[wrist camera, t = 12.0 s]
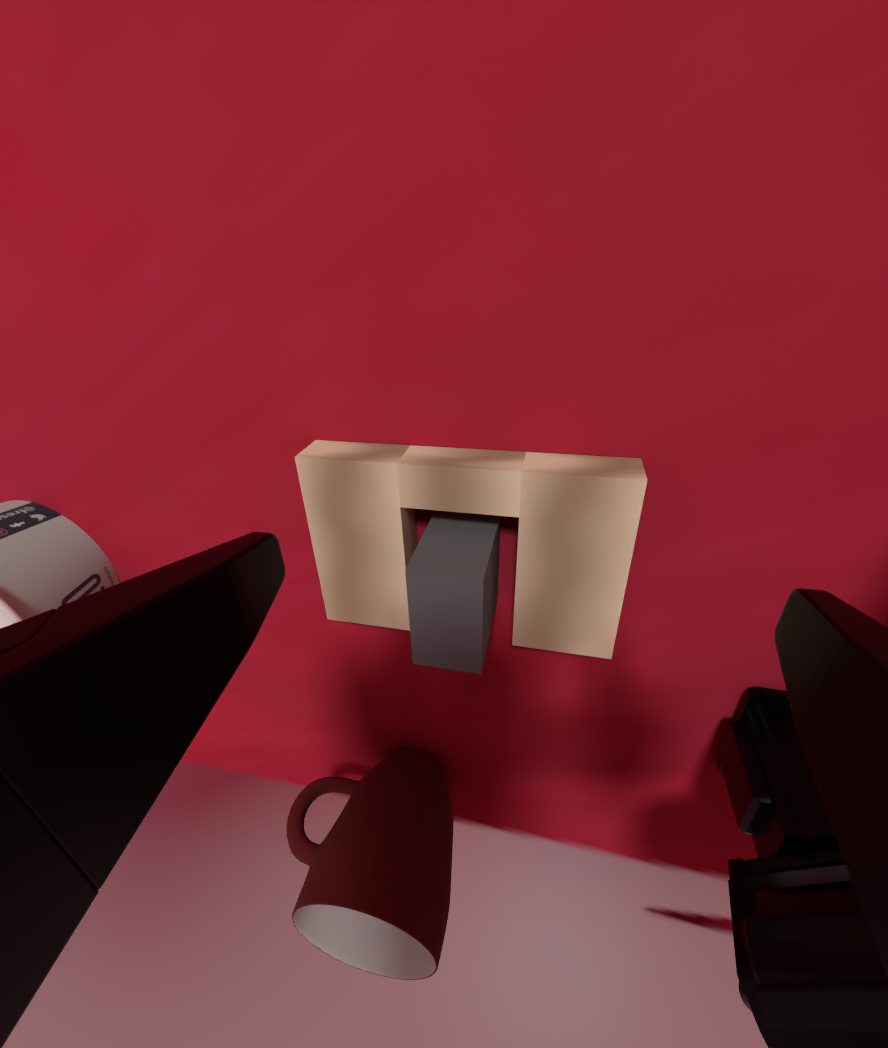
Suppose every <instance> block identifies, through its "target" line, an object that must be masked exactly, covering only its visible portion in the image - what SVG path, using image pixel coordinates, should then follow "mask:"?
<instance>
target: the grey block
mask: <svg viewBox="0 0 888 1048" xmlns="http://www.w3.org/2000/svg"><path fill="white" fill-rule="evenodd" d="M500 521H501V516H496V515H484V514H473V513H461V512H449V511H437V510H435V512H434V514H433V516H432V517H431V519H430V521H429V523H428V525H427V527H426V529H425V531H424V533H423V535H422V537H421V539H420V541H419V543H418V545H417V547H416V549H415V551H414V553H413V555H412V557H411V559H410V561H409V563H408V565H407V567H406V569H405V574H406V587H407V599H408V612H409V624H410V636H411V649H412V661H413V664H418V665H424V666H430V667H436V668H443V669H449V670H455V671H461V672H467V673H474V674H480V675H481V674H482V670H483V665H484V660H485V655H486V651H487V646H488V641H489V636H490V632H491V627H492V622H493V617H494V613H495V608H496V603H497V593H498V569H499V545H500Z"/></svg>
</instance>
